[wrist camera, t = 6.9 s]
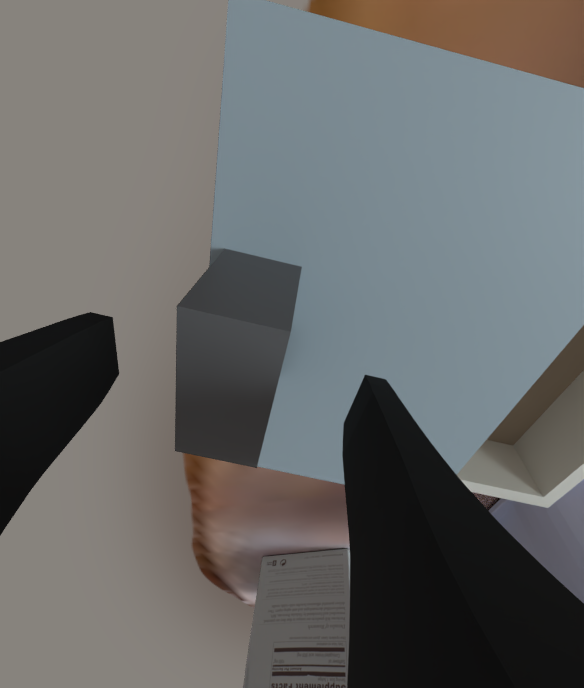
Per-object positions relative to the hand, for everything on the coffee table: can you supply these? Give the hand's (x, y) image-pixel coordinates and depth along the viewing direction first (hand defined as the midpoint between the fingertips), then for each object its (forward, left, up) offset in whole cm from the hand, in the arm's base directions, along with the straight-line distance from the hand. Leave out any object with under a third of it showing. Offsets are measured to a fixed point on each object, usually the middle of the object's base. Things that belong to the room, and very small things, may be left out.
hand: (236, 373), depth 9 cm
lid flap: (0, -4, -4) cm, 6 cm away
